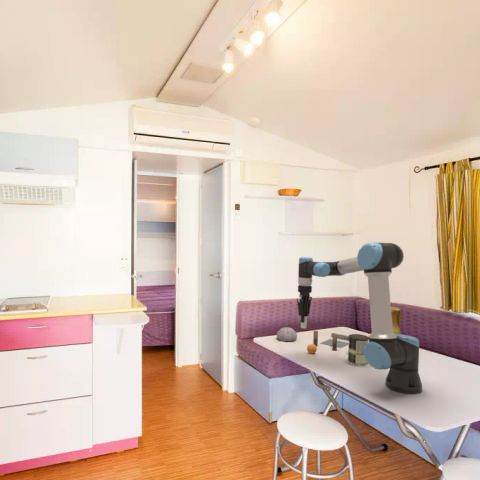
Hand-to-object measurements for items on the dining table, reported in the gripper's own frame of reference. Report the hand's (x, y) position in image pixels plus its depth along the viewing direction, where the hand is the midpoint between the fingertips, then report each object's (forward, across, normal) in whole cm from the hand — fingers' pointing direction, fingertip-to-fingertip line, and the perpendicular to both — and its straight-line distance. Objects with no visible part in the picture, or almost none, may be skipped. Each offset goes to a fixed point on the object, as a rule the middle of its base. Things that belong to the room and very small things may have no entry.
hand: (303, 327), depth 213 cm
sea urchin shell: (+17, +26, +27) cm, 41 cm away
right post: (+16, +26, -6) cm, 31 cm away
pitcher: (+16, +56, -27) cm, 64 cm away
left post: (+16, +26, +6) cm, 31 cm away
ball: (+14, +10, 0) cm, 17 cm away
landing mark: (+16, +40, 0) cm, 43 cm away
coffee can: (+16, +13, -26) cm, 33 cm away
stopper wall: (+16, +54, 0) cm, 56 cm away
